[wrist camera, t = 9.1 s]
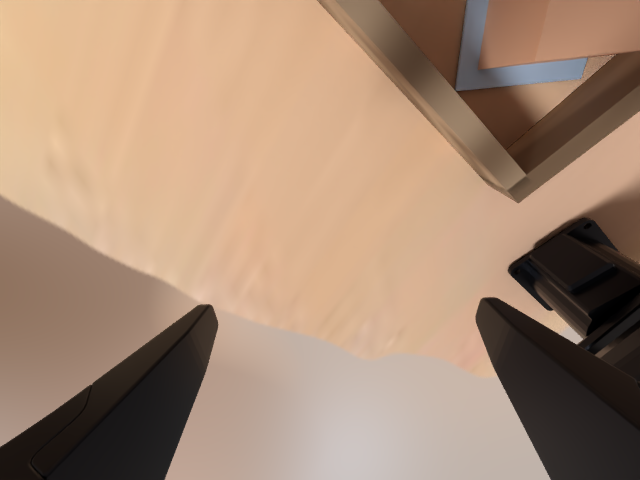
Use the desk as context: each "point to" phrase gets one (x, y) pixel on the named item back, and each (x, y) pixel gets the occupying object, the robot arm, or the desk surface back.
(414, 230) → the desk surface
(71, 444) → the robot arm
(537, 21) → the cube
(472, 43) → the pad
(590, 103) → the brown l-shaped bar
